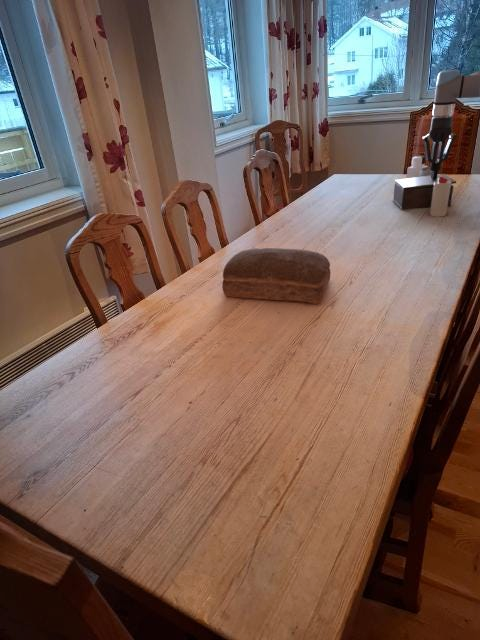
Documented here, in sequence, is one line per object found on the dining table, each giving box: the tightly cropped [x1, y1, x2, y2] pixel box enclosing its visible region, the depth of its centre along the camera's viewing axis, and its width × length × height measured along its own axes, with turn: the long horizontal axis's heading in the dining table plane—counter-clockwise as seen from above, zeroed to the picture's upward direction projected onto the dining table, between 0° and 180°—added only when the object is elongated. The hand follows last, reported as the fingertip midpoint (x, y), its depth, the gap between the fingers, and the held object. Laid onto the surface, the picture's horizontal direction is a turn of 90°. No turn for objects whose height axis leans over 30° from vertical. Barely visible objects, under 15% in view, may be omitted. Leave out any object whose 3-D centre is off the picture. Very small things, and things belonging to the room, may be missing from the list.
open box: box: [392, 181, 454, 211], centre depth 181 cm, size 20×14×8 cm
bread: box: [222, 247, 331, 304], centre depth 123 cm, size 17×29×11 cm, turn 70°
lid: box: [394, 173, 457, 189], centre depth 179 cm, size 20×14×1 cm, turn 87°
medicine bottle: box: [405, 155, 429, 179], centre depth 212 cm, size 7×7×12 cm
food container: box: [420, 166, 432, 177], centre depth 195 cm, size 12×6×10 cm, turn 168°
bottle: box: [429, 177, 452, 217], centre depth 166 cm, size 6×6×14 cm
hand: (433, 178), depth 178 cm, fingers closed
